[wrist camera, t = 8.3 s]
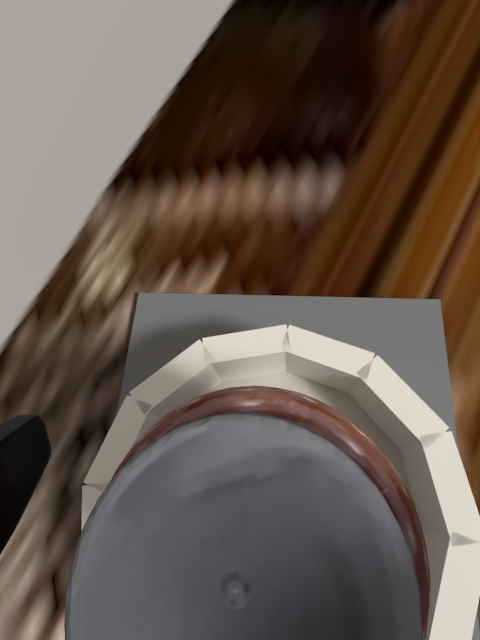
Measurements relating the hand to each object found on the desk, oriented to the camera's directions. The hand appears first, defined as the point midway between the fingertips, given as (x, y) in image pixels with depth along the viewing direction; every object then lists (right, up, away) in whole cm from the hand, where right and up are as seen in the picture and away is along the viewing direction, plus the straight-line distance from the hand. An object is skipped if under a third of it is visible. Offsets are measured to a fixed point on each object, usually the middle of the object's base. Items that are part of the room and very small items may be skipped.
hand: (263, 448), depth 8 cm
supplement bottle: (+1, -5, +7) cm, 9 cm away
